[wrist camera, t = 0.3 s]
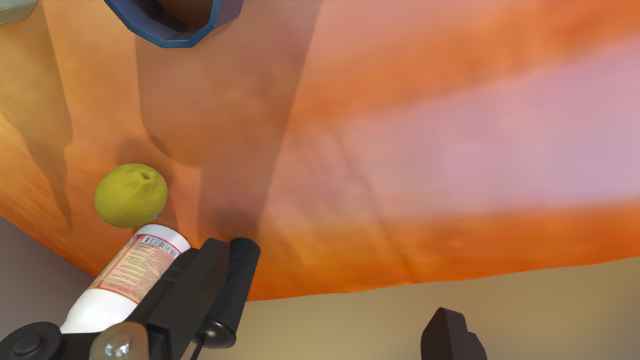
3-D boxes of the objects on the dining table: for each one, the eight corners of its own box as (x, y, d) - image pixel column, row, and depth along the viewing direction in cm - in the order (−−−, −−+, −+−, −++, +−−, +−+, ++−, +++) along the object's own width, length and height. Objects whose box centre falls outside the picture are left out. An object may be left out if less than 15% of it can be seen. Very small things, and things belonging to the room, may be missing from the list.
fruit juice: (179, 223, 49) (6, 454, 27) (201, 261, 54) (73, 479, 33) (129, 221, 51) (-68, 434, 29) (155, 259, 57) (7, 461, 35)
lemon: (154, 208, 48) (118, 249, 41) (110, 171, 44) (64, 210, 38) (197, 181, 42) (163, 224, 36) (150, 137, 39) (105, 176, 33)
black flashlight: (274, 265, 51) (221, 410, 35) (230, 261, 53) (162, 398, 37) (263, 232, 46) (196, 382, 31) (216, 229, 48) (131, 371, 33)
